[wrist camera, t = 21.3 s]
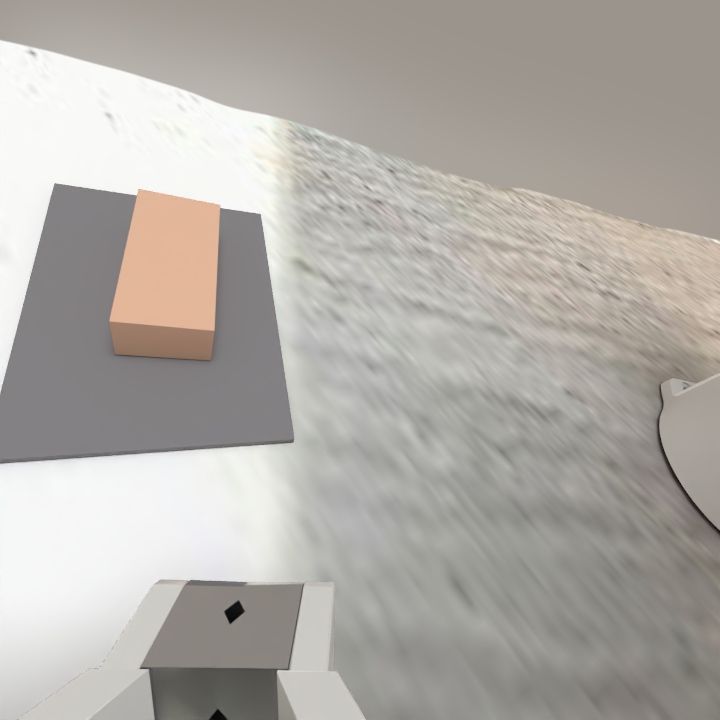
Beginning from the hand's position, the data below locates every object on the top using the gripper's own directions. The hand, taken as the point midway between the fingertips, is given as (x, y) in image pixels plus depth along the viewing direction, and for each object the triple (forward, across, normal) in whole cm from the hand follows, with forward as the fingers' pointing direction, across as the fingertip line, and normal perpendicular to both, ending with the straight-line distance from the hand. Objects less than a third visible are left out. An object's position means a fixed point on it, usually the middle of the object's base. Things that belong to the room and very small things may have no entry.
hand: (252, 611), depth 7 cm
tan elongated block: (+17, +9, -1) cm, 19 cm away
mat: (+21, +11, -3) cm, 24 cm away
